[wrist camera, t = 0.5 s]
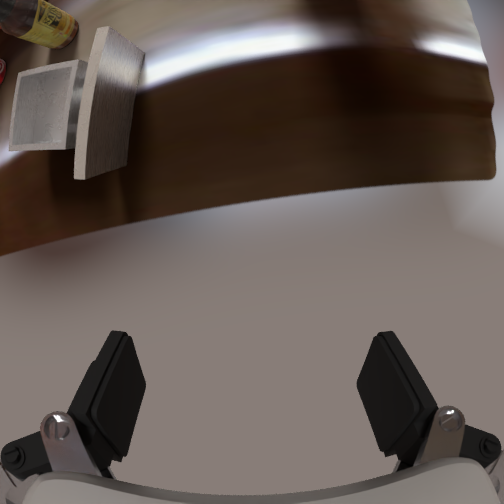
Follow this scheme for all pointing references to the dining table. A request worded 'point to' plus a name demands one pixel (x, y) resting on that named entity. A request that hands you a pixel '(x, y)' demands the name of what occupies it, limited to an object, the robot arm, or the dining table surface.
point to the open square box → (80, 105)
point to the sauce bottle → (37, 22)
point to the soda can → (2, 70)
